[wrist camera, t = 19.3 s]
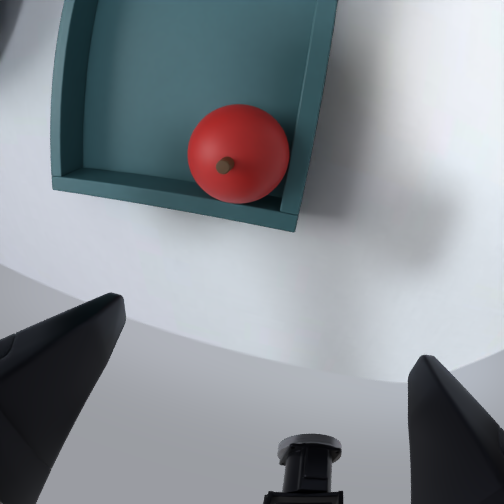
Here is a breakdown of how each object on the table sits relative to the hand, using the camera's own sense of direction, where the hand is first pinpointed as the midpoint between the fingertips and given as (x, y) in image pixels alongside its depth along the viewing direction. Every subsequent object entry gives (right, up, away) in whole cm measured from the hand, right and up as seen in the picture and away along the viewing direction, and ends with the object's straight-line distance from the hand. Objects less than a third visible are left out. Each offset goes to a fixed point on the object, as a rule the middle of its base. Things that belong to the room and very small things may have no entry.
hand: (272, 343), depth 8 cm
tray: (-3, +25, +1) cm, 25 cm away
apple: (-1, +9, +9) cm, 12 cm away
